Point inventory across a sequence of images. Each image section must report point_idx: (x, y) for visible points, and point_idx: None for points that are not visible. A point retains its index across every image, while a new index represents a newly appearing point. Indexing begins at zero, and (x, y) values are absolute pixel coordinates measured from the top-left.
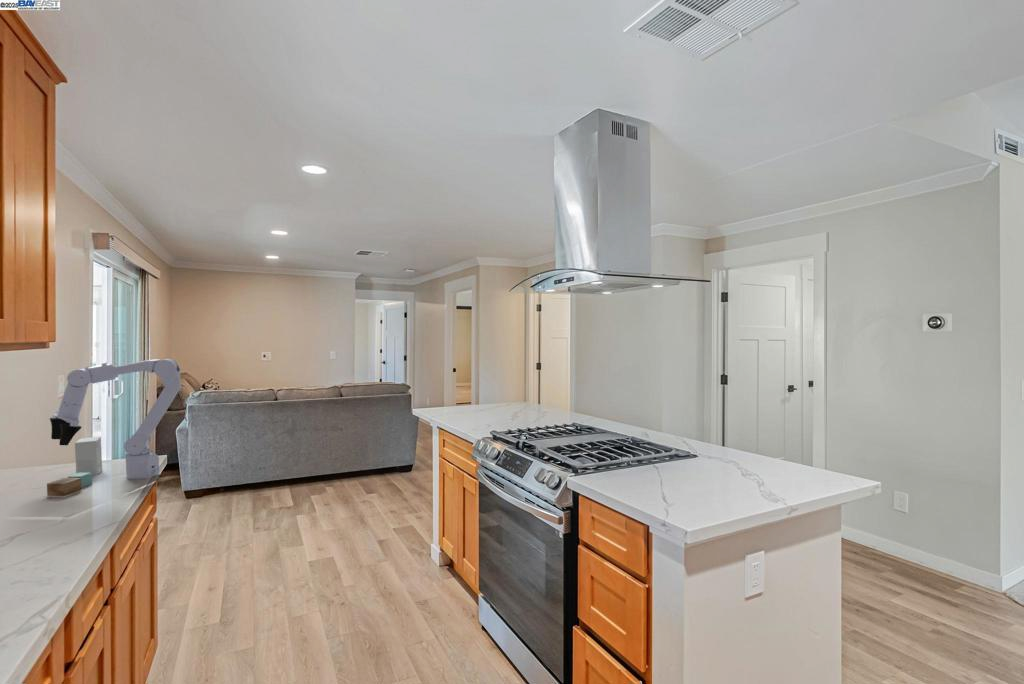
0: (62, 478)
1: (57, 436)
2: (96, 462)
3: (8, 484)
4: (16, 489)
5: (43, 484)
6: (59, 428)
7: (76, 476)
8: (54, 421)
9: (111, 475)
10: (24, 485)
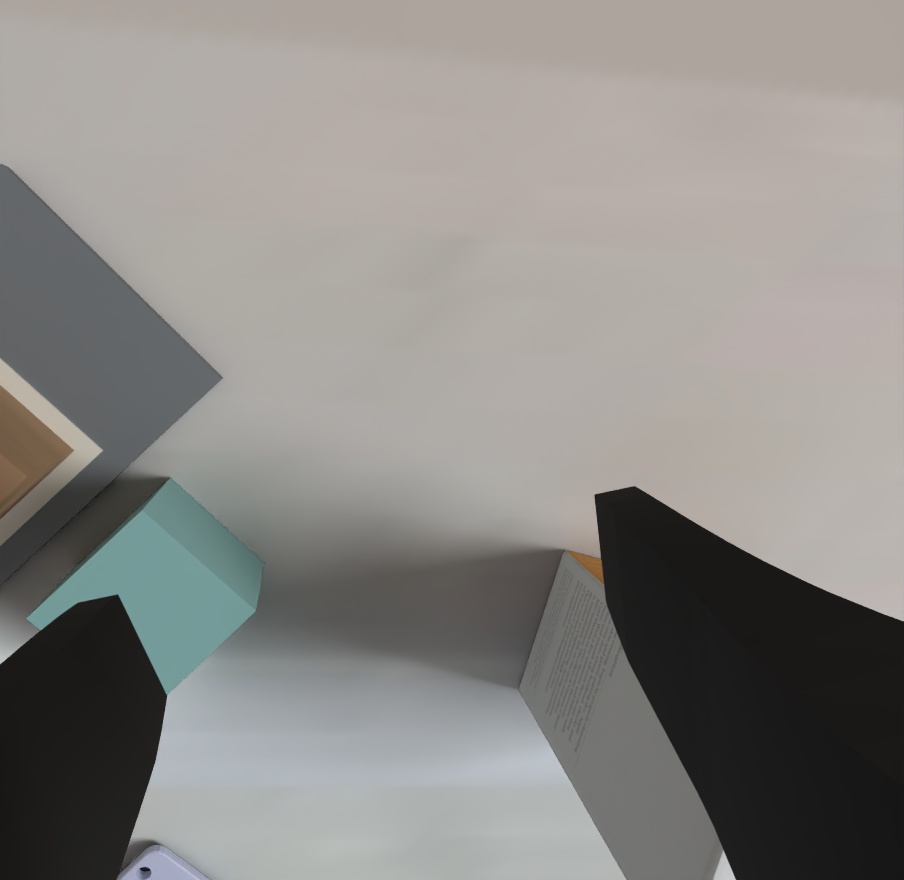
0: (6, 464)
1: (622, 604)
2: (558, 758)
3: (778, 90)
4: (530, 125)
5: (543, 320)
6: (728, 761)
7: (63, 585)
8: (892, 855)
9: (436, 779)
10: (633, 191)
